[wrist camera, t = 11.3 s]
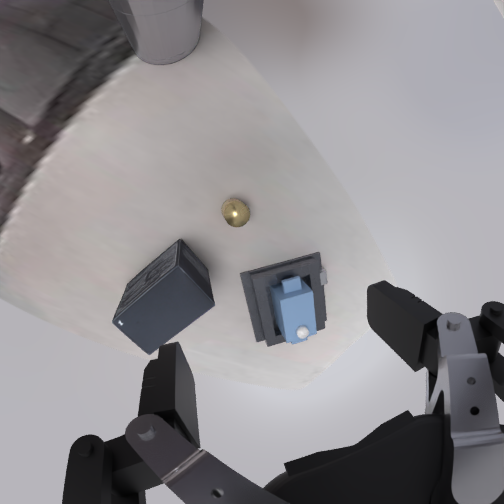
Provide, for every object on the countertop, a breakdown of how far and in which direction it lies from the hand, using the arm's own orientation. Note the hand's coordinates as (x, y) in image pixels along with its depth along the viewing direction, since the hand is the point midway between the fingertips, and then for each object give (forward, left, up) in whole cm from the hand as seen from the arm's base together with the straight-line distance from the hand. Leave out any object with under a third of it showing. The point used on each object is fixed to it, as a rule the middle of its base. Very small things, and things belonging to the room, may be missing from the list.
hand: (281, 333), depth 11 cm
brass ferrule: (0, +2, -28) cm, 28 cm away
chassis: (+15, +7, -28) cm, 33 cm away
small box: (+7, -9, -28) cm, 31 cm away
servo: (+15, +7, -28) cm, 32 cm away
